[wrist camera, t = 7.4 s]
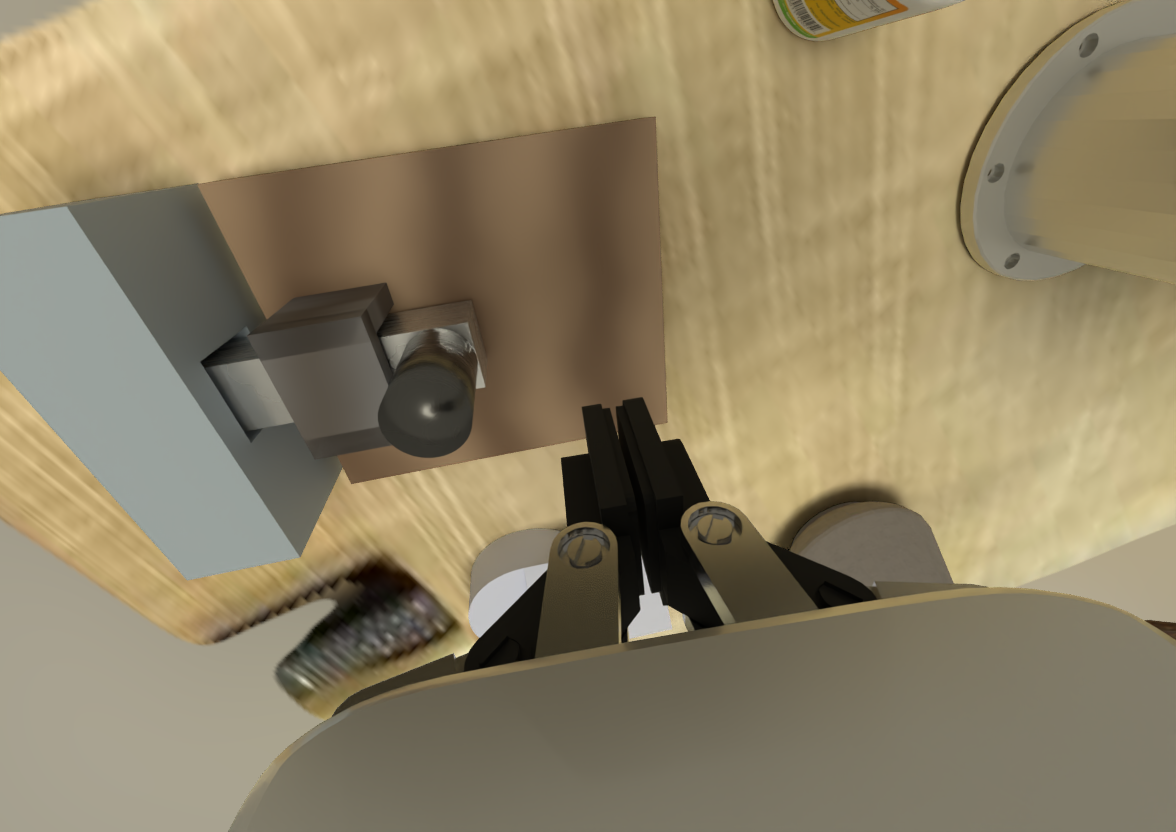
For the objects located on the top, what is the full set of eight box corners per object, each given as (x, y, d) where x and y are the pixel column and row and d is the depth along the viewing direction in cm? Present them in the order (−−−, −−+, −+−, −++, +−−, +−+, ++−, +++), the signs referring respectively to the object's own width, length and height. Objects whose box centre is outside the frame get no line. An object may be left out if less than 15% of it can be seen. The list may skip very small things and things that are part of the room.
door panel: (643, 118, 21) (694, 113, 15) (657, 405, 29) (694, 470, 23) (223, 179, 20) (114, 199, 14) (360, 462, 27) (325, 544, 22)
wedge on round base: (641, 505, 33) (456, 543, 32) (670, 583, 27) (447, 631, 26) (647, 587, 38) (487, 622, 37) (673, 668, 32) (485, 711, 31)
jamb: (198, 183, 19) (66, 206, 14) (343, 465, 27) (300, 557, 22) (71, 202, 19) (-122, 233, 13) (255, 482, 27) (187, 580, 21)
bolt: (471, 299, 21) (458, 373, 15) (487, 358, 23) (482, 448, 16) (199, 346, 21) (59, 445, 14) (235, 404, 22) (124, 517, 16)
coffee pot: (780, 602, 42) (902, 807, 29) (755, 519, 36) (897, 734, 23) (1015, 508, 40) (1253, 683, 27) (1032, 405, 34) (1348, 568, 21)
